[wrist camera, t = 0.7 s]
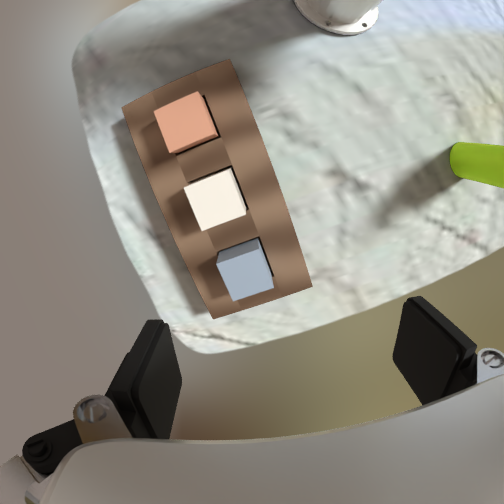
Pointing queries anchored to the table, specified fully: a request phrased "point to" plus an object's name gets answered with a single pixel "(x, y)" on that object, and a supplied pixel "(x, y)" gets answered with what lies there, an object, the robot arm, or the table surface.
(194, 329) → the table surface
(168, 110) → the terracotta key
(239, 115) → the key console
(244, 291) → the slate key
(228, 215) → the ivory key
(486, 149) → the soap dispenser
